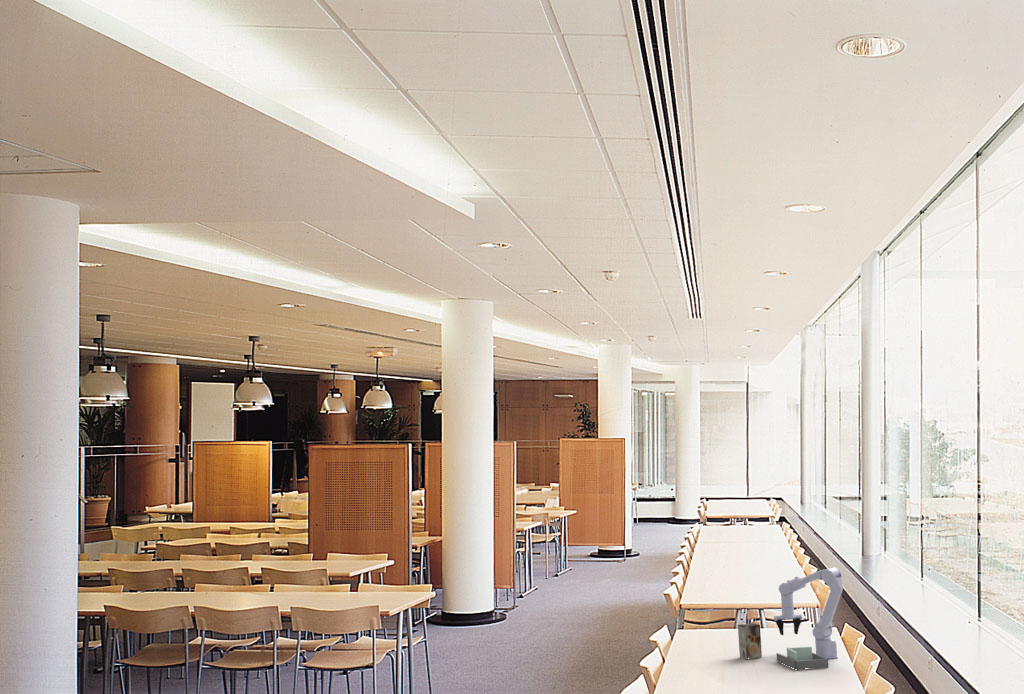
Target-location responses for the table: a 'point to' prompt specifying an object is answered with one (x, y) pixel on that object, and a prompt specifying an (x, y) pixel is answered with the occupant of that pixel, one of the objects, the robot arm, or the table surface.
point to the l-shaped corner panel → (799, 653)
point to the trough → (804, 662)
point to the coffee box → (749, 640)
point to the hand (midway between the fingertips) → (789, 634)
